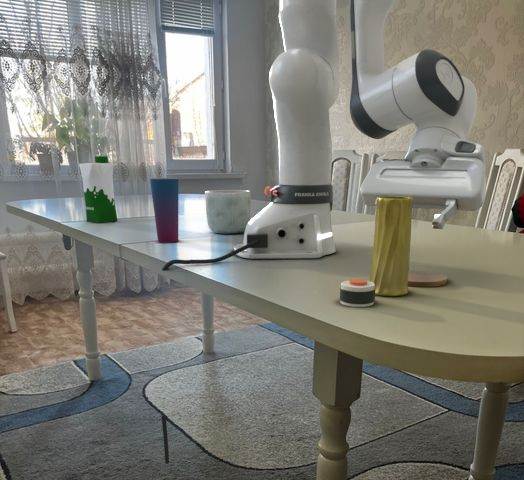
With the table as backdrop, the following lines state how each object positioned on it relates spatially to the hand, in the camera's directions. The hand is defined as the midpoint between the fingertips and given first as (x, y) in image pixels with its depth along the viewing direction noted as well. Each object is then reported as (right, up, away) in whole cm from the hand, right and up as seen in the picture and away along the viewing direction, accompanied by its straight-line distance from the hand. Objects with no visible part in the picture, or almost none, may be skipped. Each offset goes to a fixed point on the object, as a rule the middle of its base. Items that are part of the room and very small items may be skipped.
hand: (407, 224), depth 88 cm
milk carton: (-76, +22, +89) cm, 119 cm away
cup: (-47, +7, +48) cm, 67 cm away
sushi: (-10, -13, -9) cm, 19 cm away
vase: (-4, -11, -3) cm, 13 cm away
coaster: (+3, -9, +4) cm, 10 cm away
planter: (-33, +12, +63) cm, 72 cm away
